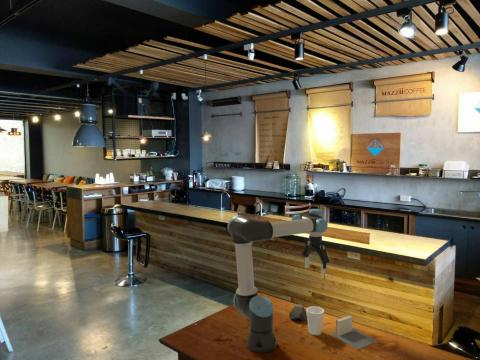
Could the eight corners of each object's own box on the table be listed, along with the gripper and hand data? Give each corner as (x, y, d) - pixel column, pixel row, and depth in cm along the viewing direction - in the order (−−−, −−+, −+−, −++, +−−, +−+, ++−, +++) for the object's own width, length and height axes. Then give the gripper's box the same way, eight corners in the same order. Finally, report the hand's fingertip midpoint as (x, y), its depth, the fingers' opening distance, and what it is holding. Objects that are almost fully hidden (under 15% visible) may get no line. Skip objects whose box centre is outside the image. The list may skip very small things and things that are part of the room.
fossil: (284, 315, 222) (291, 299, 223) (296, 319, 225) (302, 303, 227) (295, 322, 212) (301, 305, 213) (306, 326, 216) (313, 310, 217)
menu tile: (339, 335, 197) (339, 321, 196) (335, 333, 199) (335, 319, 198) (352, 330, 202) (352, 316, 201) (348, 328, 204) (349, 314, 203)
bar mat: (357, 350, 183) (357, 349, 183) (330, 335, 199) (330, 334, 199) (377, 342, 191) (377, 340, 191) (350, 327, 207) (350, 326, 207)
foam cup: (324, 338, 195) (324, 314, 194) (306, 337, 197) (306, 313, 196) (323, 329, 205) (323, 306, 204) (306, 328, 207) (306, 305, 205)
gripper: (336, 238, 211) (335, 275, 213) (305, 230, 232) (305, 264, 234) (326, 240, 207) (325, 277, 209) (296, 232, 228) (296, 266, 230)
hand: (314, 270), depth 221 cm, fingers open, 13 cm apart
